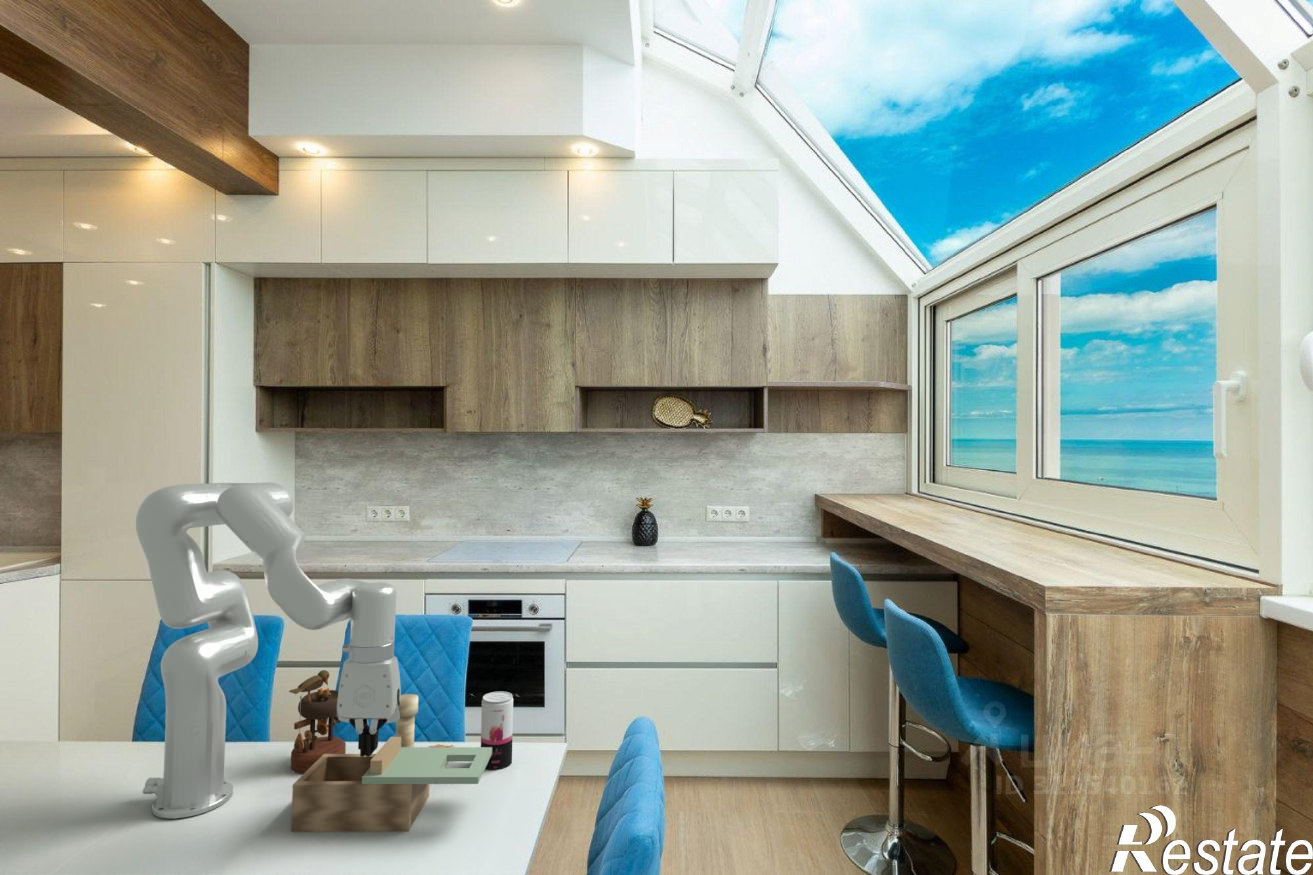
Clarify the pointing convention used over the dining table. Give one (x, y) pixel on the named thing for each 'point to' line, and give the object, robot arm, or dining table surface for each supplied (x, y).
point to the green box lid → (425, 764)
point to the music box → (318, 709)
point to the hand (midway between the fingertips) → (367, 752)
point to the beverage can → (497, 728)
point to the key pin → (407, 719)
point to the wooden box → (352, 798)
